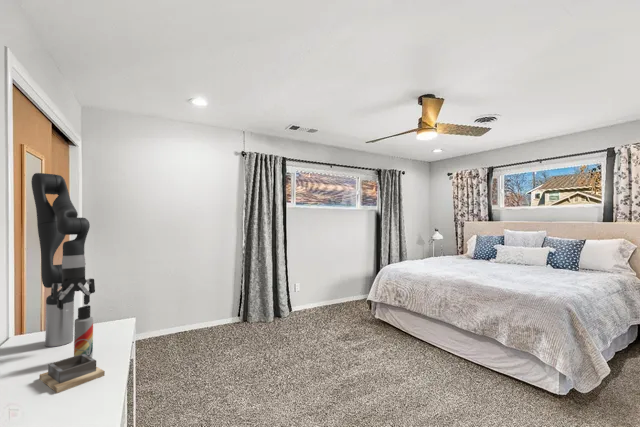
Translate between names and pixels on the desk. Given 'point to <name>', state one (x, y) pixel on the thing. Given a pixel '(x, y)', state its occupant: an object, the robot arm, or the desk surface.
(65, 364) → the socket board
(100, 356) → the desk surface
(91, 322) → the lotion bottle
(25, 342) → the desk surface
